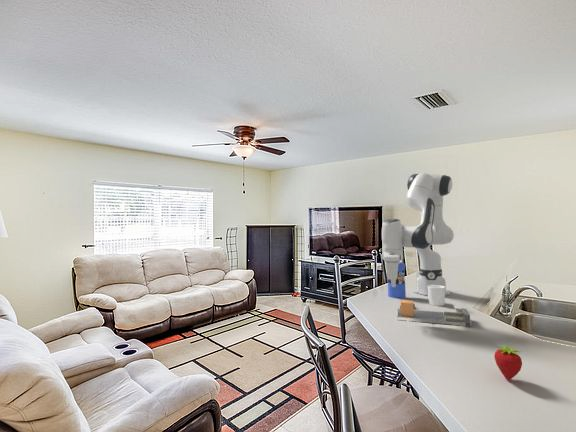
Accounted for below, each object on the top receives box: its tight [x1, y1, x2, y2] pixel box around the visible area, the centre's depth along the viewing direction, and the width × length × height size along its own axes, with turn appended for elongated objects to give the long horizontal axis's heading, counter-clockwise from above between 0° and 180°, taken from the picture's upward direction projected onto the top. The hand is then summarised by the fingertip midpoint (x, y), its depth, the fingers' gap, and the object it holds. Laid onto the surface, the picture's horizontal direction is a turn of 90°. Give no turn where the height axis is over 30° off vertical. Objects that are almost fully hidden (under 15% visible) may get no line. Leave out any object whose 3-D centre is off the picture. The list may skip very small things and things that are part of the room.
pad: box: [399, 302, 417, 310], centre depth 148 cm, size 7×7×4 cm
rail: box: [396, 307, 473, 328], centre depth 134 cm, size 10×28×4 cm, turn 68°
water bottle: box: [387, 261, 407, 299], centre depth 171 cm, size 9×9×25 cm
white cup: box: [427, 285, 446, 307], centre depth 153 cm, size 8×8×10 cm
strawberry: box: [493, 342, 523, 381], centre depth 83 cm, size 6×8×10 cm
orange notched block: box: [400, 299, 414, 316], centre depth 138 cm, size 5×5×6 cm
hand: (393, 286), depth 139 cm, fingers closed
